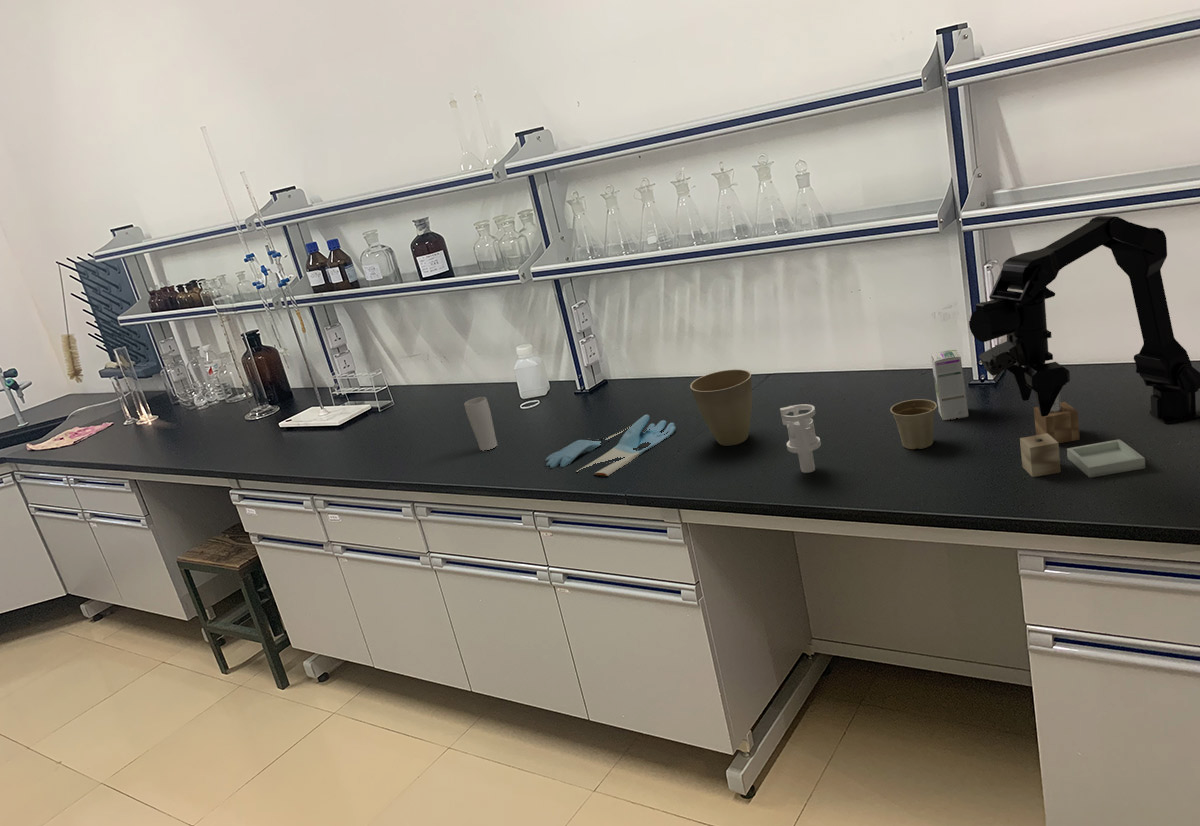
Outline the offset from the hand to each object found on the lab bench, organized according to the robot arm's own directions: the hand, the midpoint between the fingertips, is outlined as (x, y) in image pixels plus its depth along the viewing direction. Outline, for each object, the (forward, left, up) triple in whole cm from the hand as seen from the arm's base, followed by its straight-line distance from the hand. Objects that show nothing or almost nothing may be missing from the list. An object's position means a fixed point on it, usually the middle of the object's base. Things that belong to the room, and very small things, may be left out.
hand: (1034, 407), depth 160 cm
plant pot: (+56, -45, -13) cm, 73 cm away
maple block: (0, 0, -12) cm, 12 cm away
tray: (-11, +2, -12) cm, 16 cm away
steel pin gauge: (-8, -13, -12) cm, 19 cm away
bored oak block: (-8, -13, -12) cm, 19 cm away
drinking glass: (+126, -75, -13) cm, 147 cm away
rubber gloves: (+88, -57, -13) cm, 105 cm away
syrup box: (+6, -35, -13) cm, 37 cm away
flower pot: (+17, -22, -13) cm, 30 cm away
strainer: (+41, -19, -13) cm, 47 cm away
